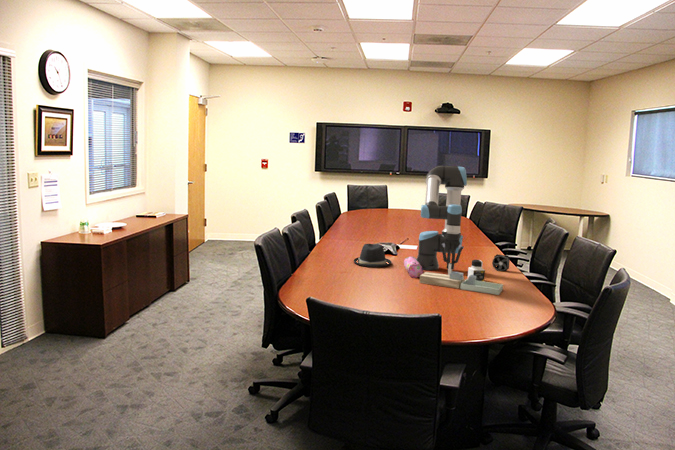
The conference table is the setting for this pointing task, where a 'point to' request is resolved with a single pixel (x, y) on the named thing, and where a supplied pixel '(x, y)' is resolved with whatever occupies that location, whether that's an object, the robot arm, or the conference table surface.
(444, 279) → the wooden block
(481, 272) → the medicine bottle
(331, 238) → the conference table surface
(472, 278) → the tile front
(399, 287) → the conference table surface
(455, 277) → the tile rear
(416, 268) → the pencil case
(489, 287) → the tray
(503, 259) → the cpu cooler
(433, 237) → the robot arm
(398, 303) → the conference table surface
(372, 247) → the fedora
